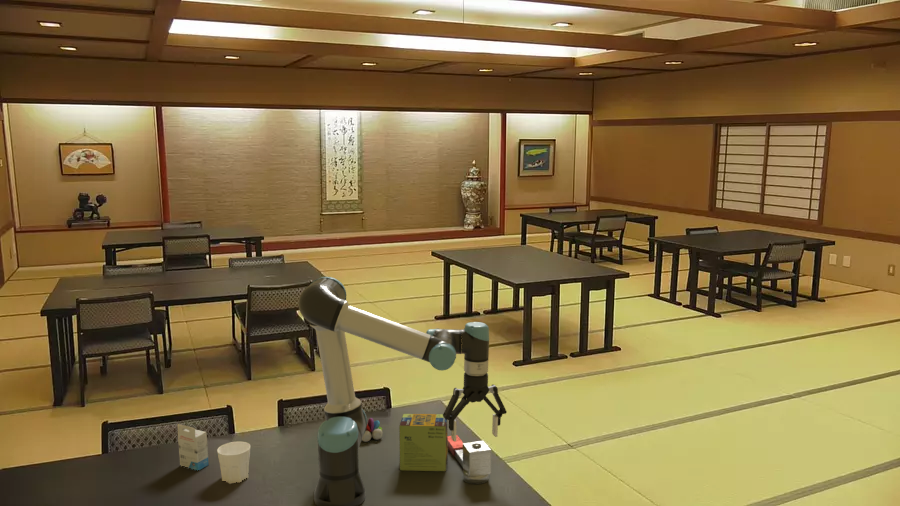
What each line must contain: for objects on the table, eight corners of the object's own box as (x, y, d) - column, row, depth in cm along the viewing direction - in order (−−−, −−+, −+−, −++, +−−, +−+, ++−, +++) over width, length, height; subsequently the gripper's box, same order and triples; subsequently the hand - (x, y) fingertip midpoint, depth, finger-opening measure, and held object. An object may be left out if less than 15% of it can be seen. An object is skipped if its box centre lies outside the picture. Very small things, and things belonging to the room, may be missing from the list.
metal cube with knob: (469, 476, 212) (469, 451, 211) (462, 467, 219) (462, 442, 218) (490, 473, 214) (490, 448, 213) (483, 464, 221) (483, 439, 220)
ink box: (209, 465, 228) (206, 423, 225) (197, 471, 223) (195, 428, 221) (191, 460, 231) (188, 418, 229) (179, 466, 227) (176, 423, 225)
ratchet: (467, 485, 213) (467, 460, 211) (440, 445, 242) (440, 422, 241) (492, 482, 215) (492, 457, 214) (462, 442, 244) (462, 420, 243)
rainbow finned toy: (353, 435, 251) (352, 416, 250) (378, 431, 255) (377, 412, 254) (360, 444, 243) (359, 425, 242) (386, 439, 247) (385, 420, 246)
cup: (218, 486, 213) (216, 456, 211) (219, 472, 222) (218, 443, 221) (251, 482, 216) (250, 452, 214) (252, 468, 225) (250, 439, 224)
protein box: (446, 471, 222) (446, 426, 220) (399, 470, 223) (398, 425, 221) (448, 457, 233) (448, 413, 230) (403, 456, 233) (402, 413, 231)
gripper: (440, 379, 205) (439, 446, 208) (518, 373, 212) (515, 438, 215) (433, 371, 212) (433, 436, 215) (509, 365, 219) (507, 428, 223)
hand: (474, 437), depth 215 cm, fingers open, 13 cm apart
